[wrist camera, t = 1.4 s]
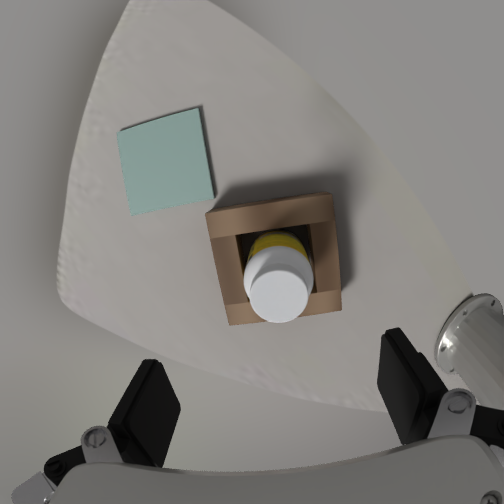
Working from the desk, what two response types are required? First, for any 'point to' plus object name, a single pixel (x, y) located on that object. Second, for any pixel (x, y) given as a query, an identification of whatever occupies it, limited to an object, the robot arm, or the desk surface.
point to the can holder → (271, 217)
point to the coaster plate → (165, 163)
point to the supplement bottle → (278, 276)
